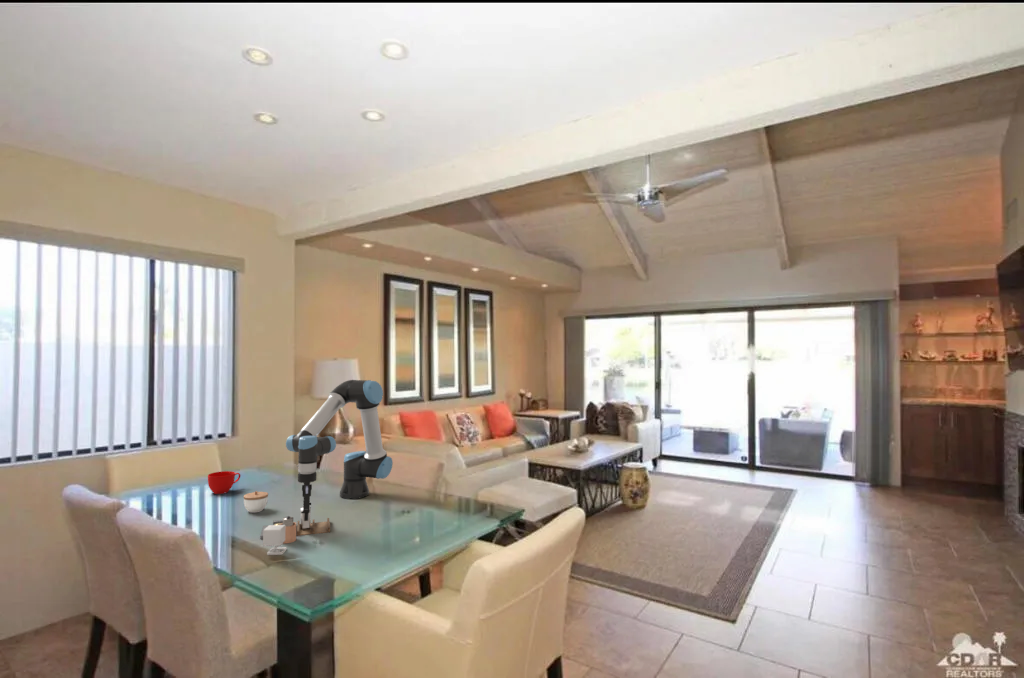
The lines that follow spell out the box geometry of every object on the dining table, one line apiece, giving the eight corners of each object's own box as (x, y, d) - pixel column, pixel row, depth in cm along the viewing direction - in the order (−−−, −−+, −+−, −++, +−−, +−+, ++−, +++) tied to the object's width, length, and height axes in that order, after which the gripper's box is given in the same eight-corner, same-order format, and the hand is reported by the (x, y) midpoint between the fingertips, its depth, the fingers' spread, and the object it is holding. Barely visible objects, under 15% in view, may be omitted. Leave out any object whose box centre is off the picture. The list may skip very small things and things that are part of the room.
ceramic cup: (246, 490, 288) (246, 472, 288) (215, 497, 274) (215, 478, 274) (233, 486, 295) (233, 468, 295) (202, 493, 280) (202, 474, 281)
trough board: (328, 523, 236) (329, 517, 236) (330, 533, 223) (330, 527, 223) (297, 526, 231) (297, 521, 231) (296, 536, 218) (296, 531, 218)
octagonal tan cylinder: (296, 538, 217) (296, 521, 217) (295, 543, 211) (296, 526, 211) (279, 539, 214) (279, 522, 214) (278, 545, 208) (278, 527, 208)
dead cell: (293, 538, 215) (293, 514, 215) (292, 541, 211) (293, 517, 212) (282, 539, 214) (283, 515, 214) (281, 542, 210) (282, 518, 210)
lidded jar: (258, 514, 246) (258, 495, 246) (238, 513, 248) (238, 493, 248) (272, 508, 256) (273, 489, 256) (253, 506, 258) (253, 487, 258)
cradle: (295, 525, 232) (295, 518, 232) (294, 536, 218) (294, 529, 218) (263, 528, 228) (263, 521, 228) (260, 540, 213) (260, 533, 213)
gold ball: (283, 529, 224) (283, 522, 224) (282, 532, 221) (283, 525, 221) (274, 530, 223) (274, 523, 223) (273, 533, 219) (273, 526, 219)
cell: (310, 526, 228) (310, 504, 228) (310, 529, 224) (310, 507, 225) (300, 527, 227) (300, 505, 227) (300, 530, 223) (300, 508, 223)
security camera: (268, 550, 203) (269, 524, 203) (287, 550, 204) (287, 524, 204) (262, 556, 197) (263, 530, 197) (281, 556, 197) (282, 529, 198)
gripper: (298, 467, 235) (297, 517, 234) (297, 478, 215) (296, 533, 214) (316, 466, 238) (315, 515, 237) (316, 477, 218) (315, 531, 217)
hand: (306, 524), depth 226 cm, fingers open, 9 cm apart
